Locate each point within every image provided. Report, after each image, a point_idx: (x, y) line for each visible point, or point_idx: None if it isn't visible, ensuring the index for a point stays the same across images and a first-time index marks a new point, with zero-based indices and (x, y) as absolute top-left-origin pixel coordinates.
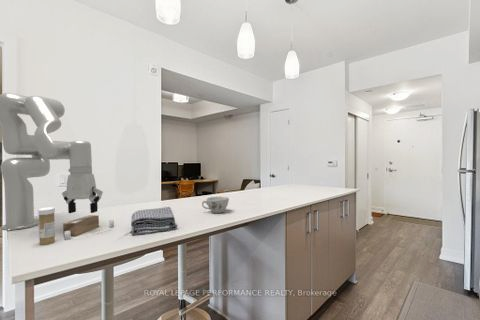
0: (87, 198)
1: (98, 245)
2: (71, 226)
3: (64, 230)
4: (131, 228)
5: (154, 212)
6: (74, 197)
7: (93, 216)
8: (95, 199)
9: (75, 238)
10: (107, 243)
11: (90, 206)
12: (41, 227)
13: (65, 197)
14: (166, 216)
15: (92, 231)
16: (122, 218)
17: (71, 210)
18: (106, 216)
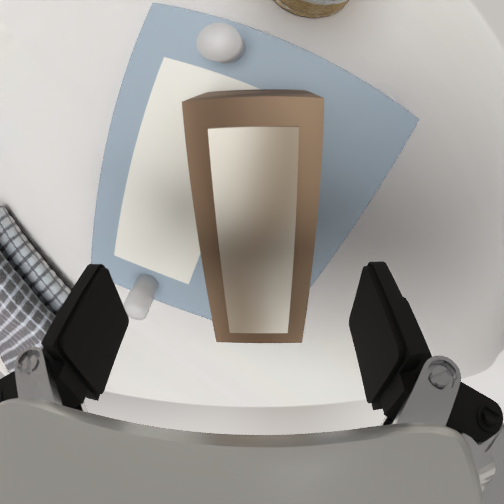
0: (20, 398)
1: (26, 64)
2: (228, 96)
3: (301, 92)
4: (18, 243)
5: (5, 342)
6: (267, 475)
7: (228, 321)
8: (12, 386)
9: (179, 66)
10: (13, 97)
11: (74, 316)
12: None
13: (488, 430)
14: None
15: (184, 204)
16: (238, 388)
17: (367, 295)
18: (327, 399)
